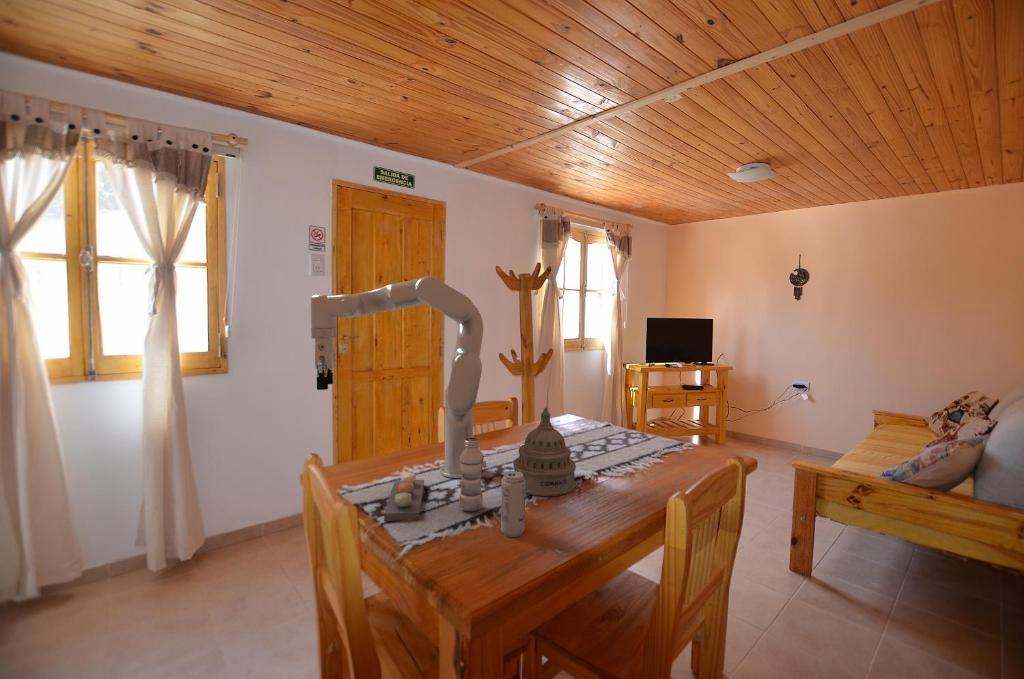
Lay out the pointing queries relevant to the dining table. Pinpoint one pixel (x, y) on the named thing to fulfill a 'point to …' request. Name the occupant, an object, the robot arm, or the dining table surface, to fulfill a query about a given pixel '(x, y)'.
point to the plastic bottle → (471, 476)
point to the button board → (405, 511)
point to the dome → (546, 461)
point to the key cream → (408, 477)
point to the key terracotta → (406, 487)
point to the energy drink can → (513, 504)
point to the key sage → (403, 499)
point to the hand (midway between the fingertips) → (325, 386)
